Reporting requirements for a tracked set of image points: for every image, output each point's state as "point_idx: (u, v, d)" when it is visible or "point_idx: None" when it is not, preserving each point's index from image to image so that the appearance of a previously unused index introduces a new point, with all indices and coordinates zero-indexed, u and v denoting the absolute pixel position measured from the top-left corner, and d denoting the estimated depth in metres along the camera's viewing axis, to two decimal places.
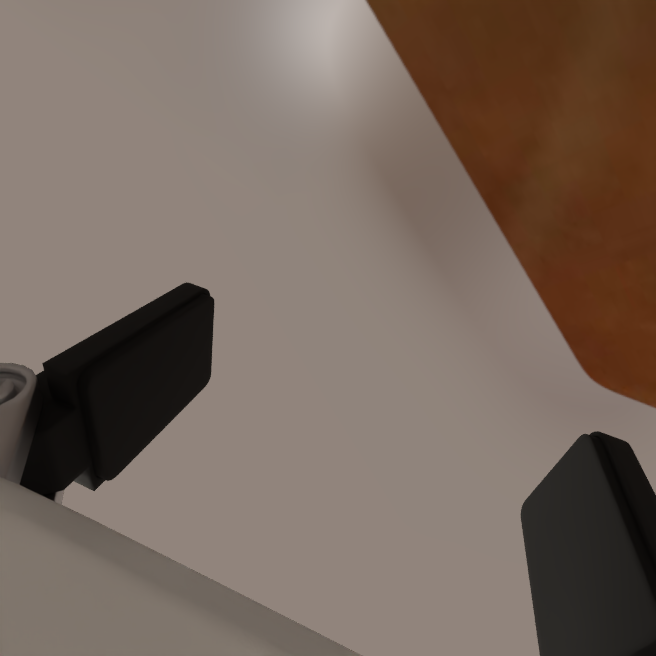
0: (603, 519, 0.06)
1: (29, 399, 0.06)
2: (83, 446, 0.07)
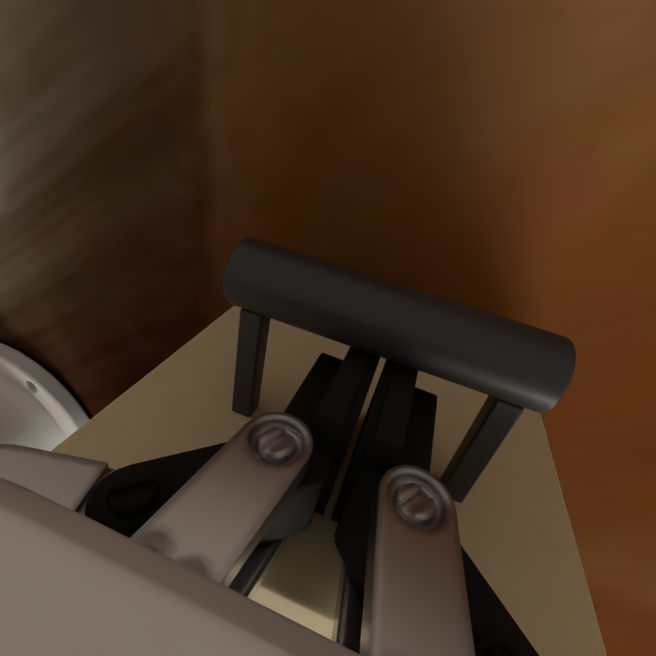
0: (378, 386, 0.08)
1: (296, 472, 0.06)
2: (321, 487, 0.07)
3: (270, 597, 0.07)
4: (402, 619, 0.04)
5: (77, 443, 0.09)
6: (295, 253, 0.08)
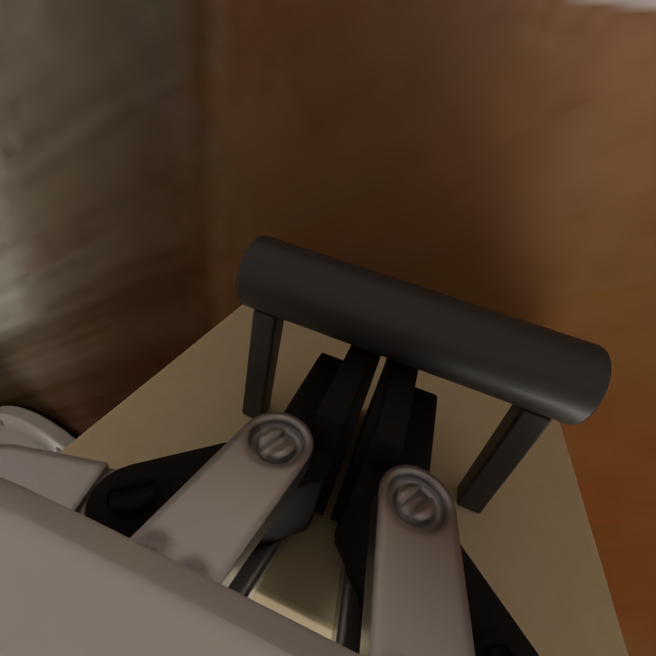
0: (377, 386, 0.08)
1: (296, 472, 0.06)
2: (321, 487, 0.07)
3: (283, 611, 0.07)
4: (402, 619, 0.04)
5: (84, 446, 0.08)
6: (312, 253, 0.08)
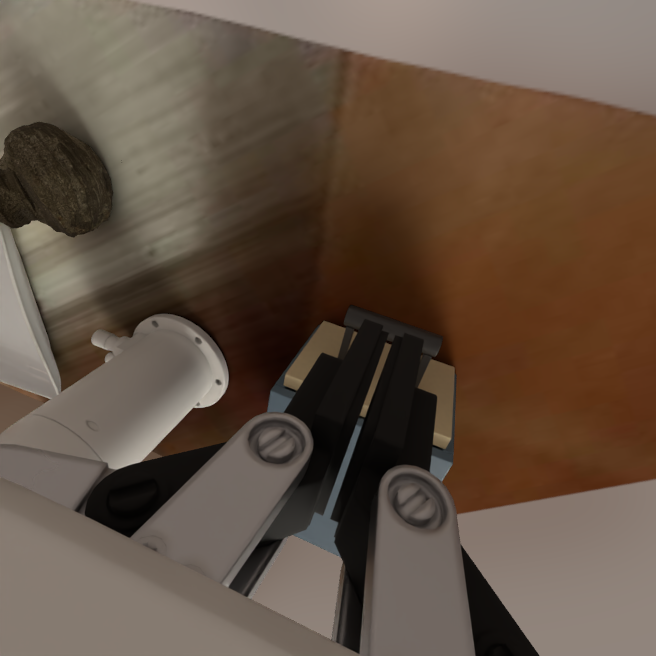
0: (378, 386, 0.08)
1: (296, 472, 0.06)
2: (321, 487, 0.07)
3: None
4: (402, 619, 0.04)
5: (294, 367, 0.28)
6: (365, 310, 0.27)
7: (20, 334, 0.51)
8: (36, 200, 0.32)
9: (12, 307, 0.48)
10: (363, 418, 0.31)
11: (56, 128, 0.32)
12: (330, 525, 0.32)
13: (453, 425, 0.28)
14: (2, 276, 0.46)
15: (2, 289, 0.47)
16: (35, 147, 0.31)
